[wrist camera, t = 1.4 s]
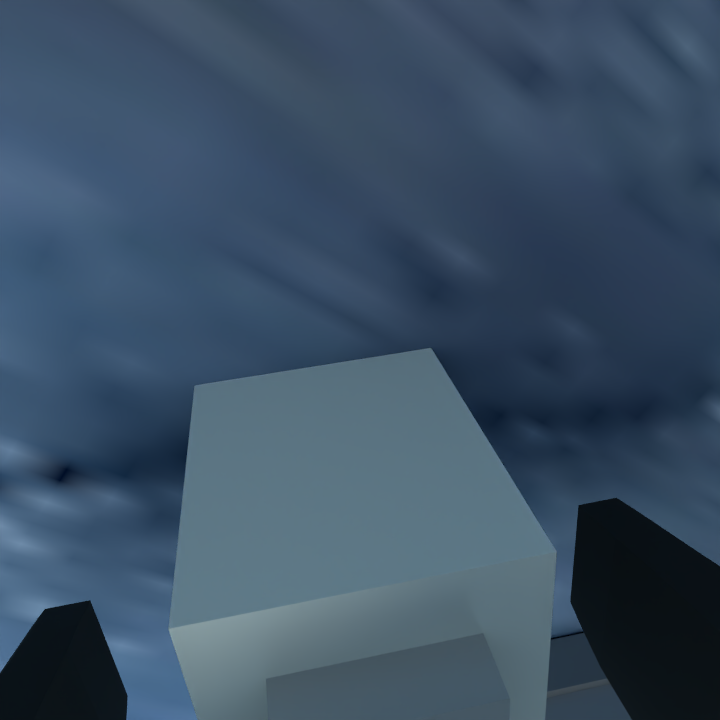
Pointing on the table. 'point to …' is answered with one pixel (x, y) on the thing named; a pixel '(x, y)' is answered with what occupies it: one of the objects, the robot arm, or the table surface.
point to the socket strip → (579, 684)
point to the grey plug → (356, 553)
